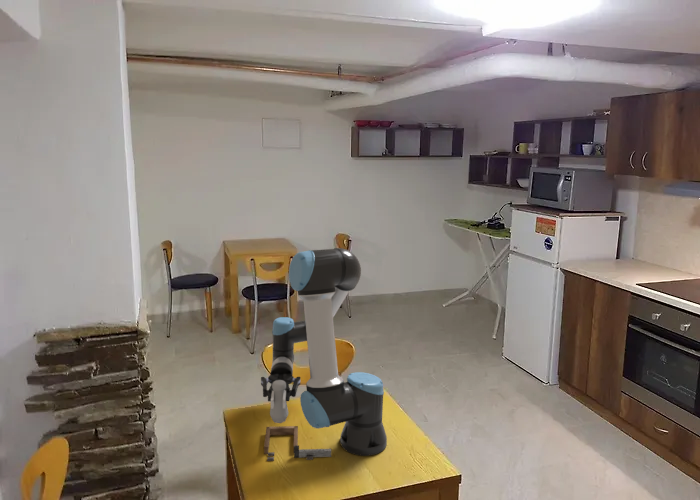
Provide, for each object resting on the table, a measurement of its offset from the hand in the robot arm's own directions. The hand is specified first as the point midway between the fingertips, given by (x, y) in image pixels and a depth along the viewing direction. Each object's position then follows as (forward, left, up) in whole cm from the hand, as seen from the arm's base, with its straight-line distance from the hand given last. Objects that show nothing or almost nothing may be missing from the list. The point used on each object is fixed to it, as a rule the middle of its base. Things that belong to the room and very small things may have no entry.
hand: (277, 404), depth 165 cm
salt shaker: (+2, -5, -8) cm, 10 cm away
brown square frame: (0, -7, -18) cm, 19 cm away
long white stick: (-9, -4, -18) cm, 21 cm away
